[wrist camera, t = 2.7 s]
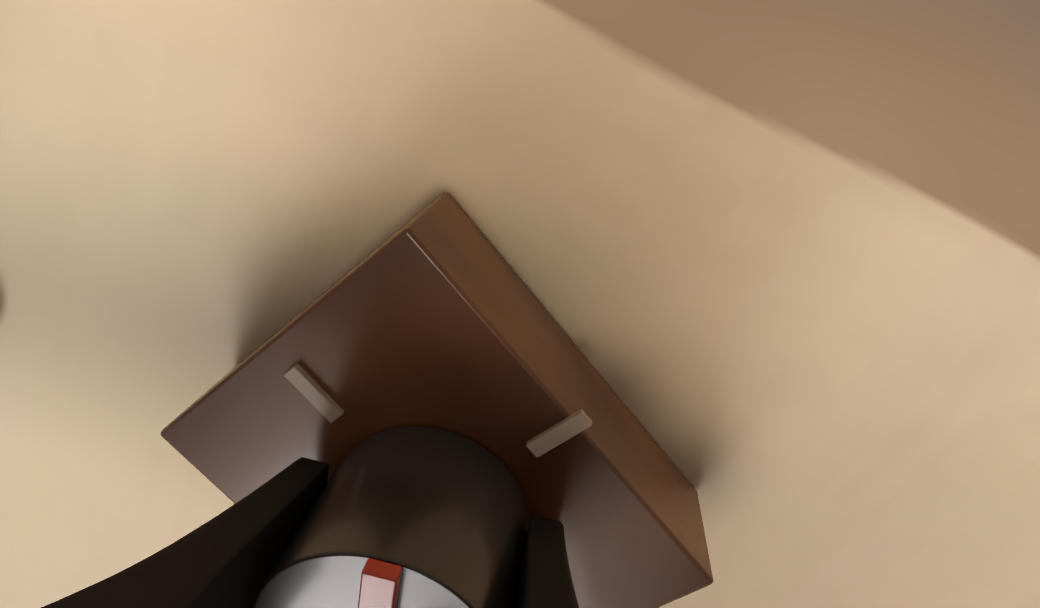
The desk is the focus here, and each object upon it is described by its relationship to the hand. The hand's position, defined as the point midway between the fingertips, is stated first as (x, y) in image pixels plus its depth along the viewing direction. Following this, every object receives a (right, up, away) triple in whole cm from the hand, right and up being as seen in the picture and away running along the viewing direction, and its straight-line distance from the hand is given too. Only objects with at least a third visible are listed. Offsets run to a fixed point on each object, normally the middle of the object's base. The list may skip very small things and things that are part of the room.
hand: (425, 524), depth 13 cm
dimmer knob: (0, 0, 0) cm, 0 cm away
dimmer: (0, +1, +3) cm, 3 cm away
